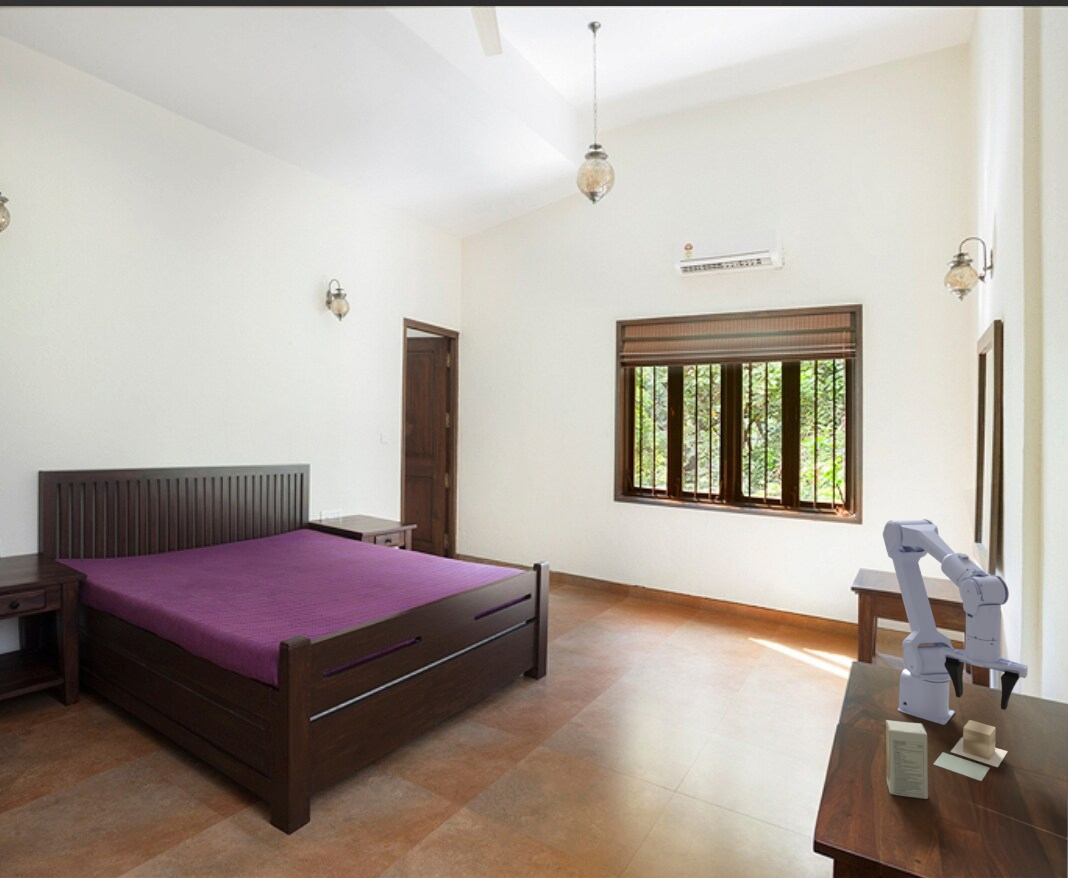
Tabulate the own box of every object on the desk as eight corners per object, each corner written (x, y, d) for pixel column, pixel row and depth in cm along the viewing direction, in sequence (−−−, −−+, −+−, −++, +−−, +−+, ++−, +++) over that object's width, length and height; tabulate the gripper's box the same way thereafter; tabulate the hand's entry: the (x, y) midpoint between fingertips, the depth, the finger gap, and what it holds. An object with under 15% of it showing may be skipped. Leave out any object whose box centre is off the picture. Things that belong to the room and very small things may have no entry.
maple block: (962, 751, 134) (963, 727, 133) (969, 743, 137) (969, 719, 136) (989, 760, 130) (989, 735, 130) (995, 751, 133) (995, 727, 133)
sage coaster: (933, 765, 129) (933, 764, 129) (942, 753, 133) (942, 752, 133) (981, 782, 123) (981, 780, 123) (989, 769, 128) (989, 767, 128)
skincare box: (922, 786, 122) (924, 723, 122) (928, 800, 118) (929, 734, 118) (884, 781, 125) (885, 718, 124) (888, 794, 120) (889, 729, 120)
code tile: (950, 752, 134) (950, 751, 134) (961, 737, 139) (961, 736, 139) (997, 768, 128) (997, 767, 128) (1007, 752, 133) (1007, 751, 133)
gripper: (935, 632, 135) (934, 696, 136) (1022, 650, 124) (1021, 720, 125) (945, 623, 140) (944, 685, 140) (1030, 640, 129) (1028, 708, 130)
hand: (981, 701), depth 133 cm, fingers open, 7 cm apart
